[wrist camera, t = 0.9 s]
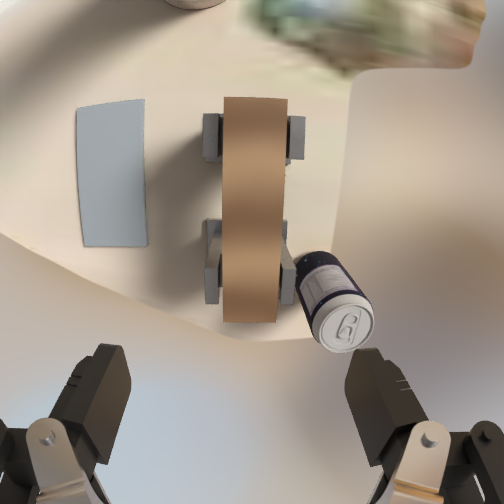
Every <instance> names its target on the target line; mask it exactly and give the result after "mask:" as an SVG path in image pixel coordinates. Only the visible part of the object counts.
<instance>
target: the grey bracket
mask: <svg viewBox="0 0 504 504" xmlns="http://www.w3.org/2000/svg"><path fill="white" fill-rule="evenodd" d="M286 238H287V220H283V223H282V240H281V257H280V272H279V287H278V296H279V301H280V305H291V304H293V300H294V290H295V279H296V267H295V265H294V263H293V260H292V258H291V256H290V253H289V251H288V249H287V246H286ZM207 248H208V256H207V260H206V263H205V267H204V278H205V301H206V304H219V296H220V287H223V274H222V219H207Z"/></svg>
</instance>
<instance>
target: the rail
mask: <svg viewBox="0 0 504 504" xmlns="http://www.w3.org/2000/svg"><path fill="white" fill-rule="evenodd" d="M287 102H288V99H277V98H255V97H224V120H223V175H222V274H223V322H276V315H277V301H278V287H279V272H280V257H281V240H282V223H283V204H284V184H285V161H286V134H287Z"/></svg>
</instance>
